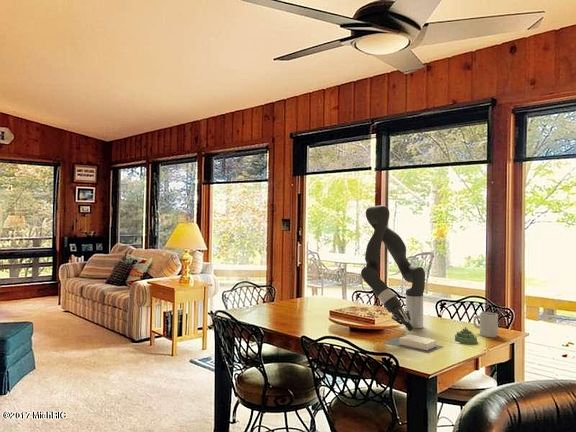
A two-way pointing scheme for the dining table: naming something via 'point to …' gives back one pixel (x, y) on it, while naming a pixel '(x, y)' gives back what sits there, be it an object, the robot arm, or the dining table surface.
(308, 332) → the dining table surface
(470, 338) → the decorative artifact
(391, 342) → the mat
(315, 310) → the dining table surface
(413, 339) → the orange white box
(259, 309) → the dining table surface
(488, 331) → the mug
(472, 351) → the dining table surface
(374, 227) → the robot arm
